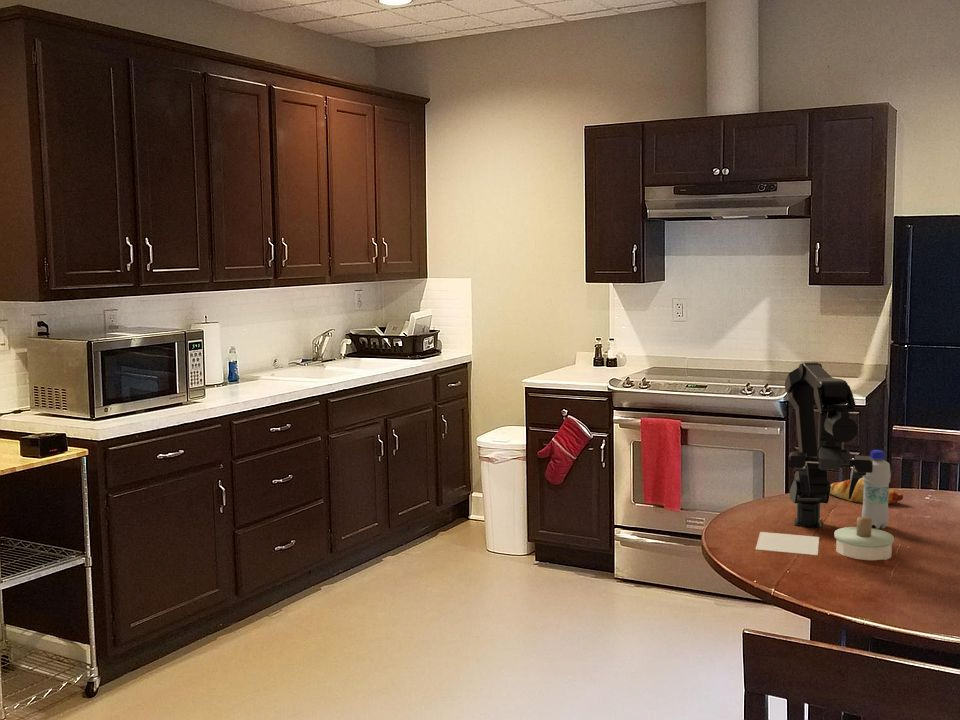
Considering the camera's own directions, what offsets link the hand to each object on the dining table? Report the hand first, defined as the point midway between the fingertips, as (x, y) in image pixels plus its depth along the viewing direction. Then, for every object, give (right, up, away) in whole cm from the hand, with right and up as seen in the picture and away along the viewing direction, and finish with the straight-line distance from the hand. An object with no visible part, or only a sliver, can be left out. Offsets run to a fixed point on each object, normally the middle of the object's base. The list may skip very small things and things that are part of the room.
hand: (829, 497), depth 234 cm
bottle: (+17, -10, +16) cm, 25 cm away
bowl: (+7, -13, -4) cm, 15 cm away
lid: (+7, -9, -4) cm, 12 cm away
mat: (-9, -12, +3) cm, 15 cm away
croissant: (+24, -7, +41) cm, 48 cm away
